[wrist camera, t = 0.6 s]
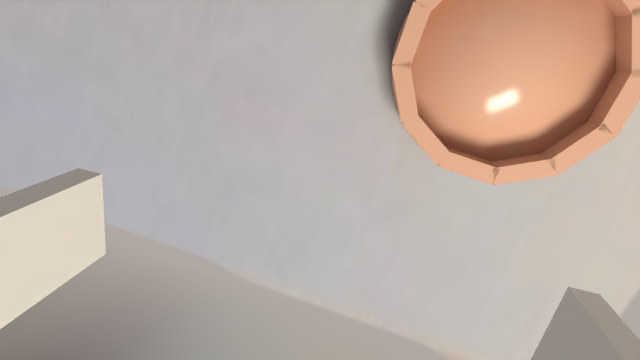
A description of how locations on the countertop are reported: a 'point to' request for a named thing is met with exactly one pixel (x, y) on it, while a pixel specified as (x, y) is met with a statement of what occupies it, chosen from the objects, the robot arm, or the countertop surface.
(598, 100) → the tray
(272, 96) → the countertop surface
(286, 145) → the countertop surface
